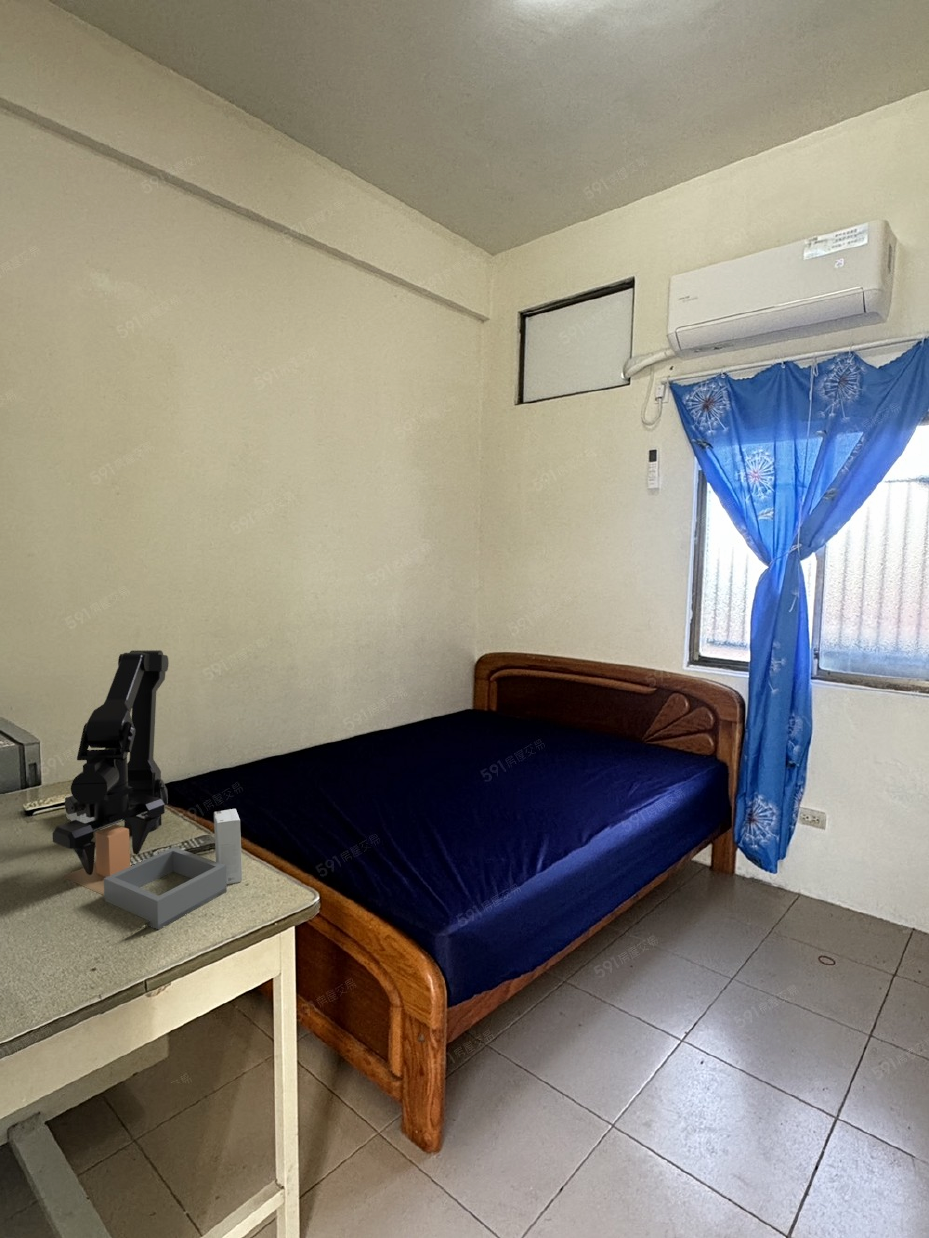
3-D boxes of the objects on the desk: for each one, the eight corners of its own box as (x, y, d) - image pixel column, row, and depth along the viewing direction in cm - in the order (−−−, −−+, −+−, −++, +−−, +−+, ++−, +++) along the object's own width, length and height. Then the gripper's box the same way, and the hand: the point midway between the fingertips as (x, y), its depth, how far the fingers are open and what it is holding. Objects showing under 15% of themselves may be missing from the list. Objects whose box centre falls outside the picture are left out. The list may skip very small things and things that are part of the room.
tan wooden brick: (116, 864, 126) (115, 824, 126) (130, 869, 125) (129, 829, 124) (96, 873, 123) (95, 831, 122) (110, 878, 121) (108, 837, 120)
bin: (174, 871, 126) (174, 846, 126) (226, 891, 120) (226, 865, 119) (104, 905, 114) (103, 878, 113) (158, 930, 107) (157, 901, 107)
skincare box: (243, 881, 123) (242, 819, 122) (217, 886, 121) (216, 823, 120) (238, 867, 129) (238, 807, 127) (214, 871, 127) (213, 810, 125)
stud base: (123, 855, 132) (122, 828, 131) (163, 871, 126) (162, 843, 126) (62, 881, 122) (61, 852, 121) (103, 900, 116) (101, 869, 115)
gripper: (129, 761, 134) (131, 835, 136) (32, 790, 118) (36, 873, 119) (165, 771, 129) (167, 848, 130) (70, 803, 112) (73, 890, 114)
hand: (113, 863), depth 124 cm, fingers open, 9 cm apart
